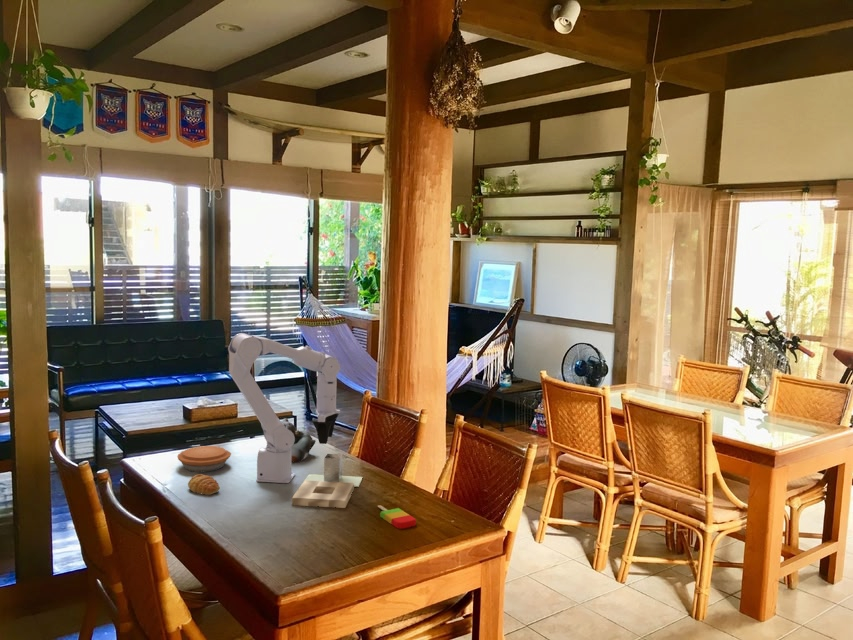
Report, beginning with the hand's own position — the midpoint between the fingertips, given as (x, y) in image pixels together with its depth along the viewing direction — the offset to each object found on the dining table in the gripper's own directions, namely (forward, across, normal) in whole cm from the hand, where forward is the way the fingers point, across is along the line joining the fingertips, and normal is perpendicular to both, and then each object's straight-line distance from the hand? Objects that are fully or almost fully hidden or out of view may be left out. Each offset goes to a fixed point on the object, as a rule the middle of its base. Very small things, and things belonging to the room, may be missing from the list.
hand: (325, 440), depth 213 cm
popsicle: (+10, -32, -24) cm, 42 cm away
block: (+9, -8, -4) cm, 13 cm away
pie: (+10, 0, +37) cm, 38 cm away
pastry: (+10, -20, +29) cm, 37 cm away
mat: (+10, -8, -4) cm, 13 cm away
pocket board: (+10, -21, -4) cm, 24 cm away
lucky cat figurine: (+10, +13, +14) cm, 22 cm away
